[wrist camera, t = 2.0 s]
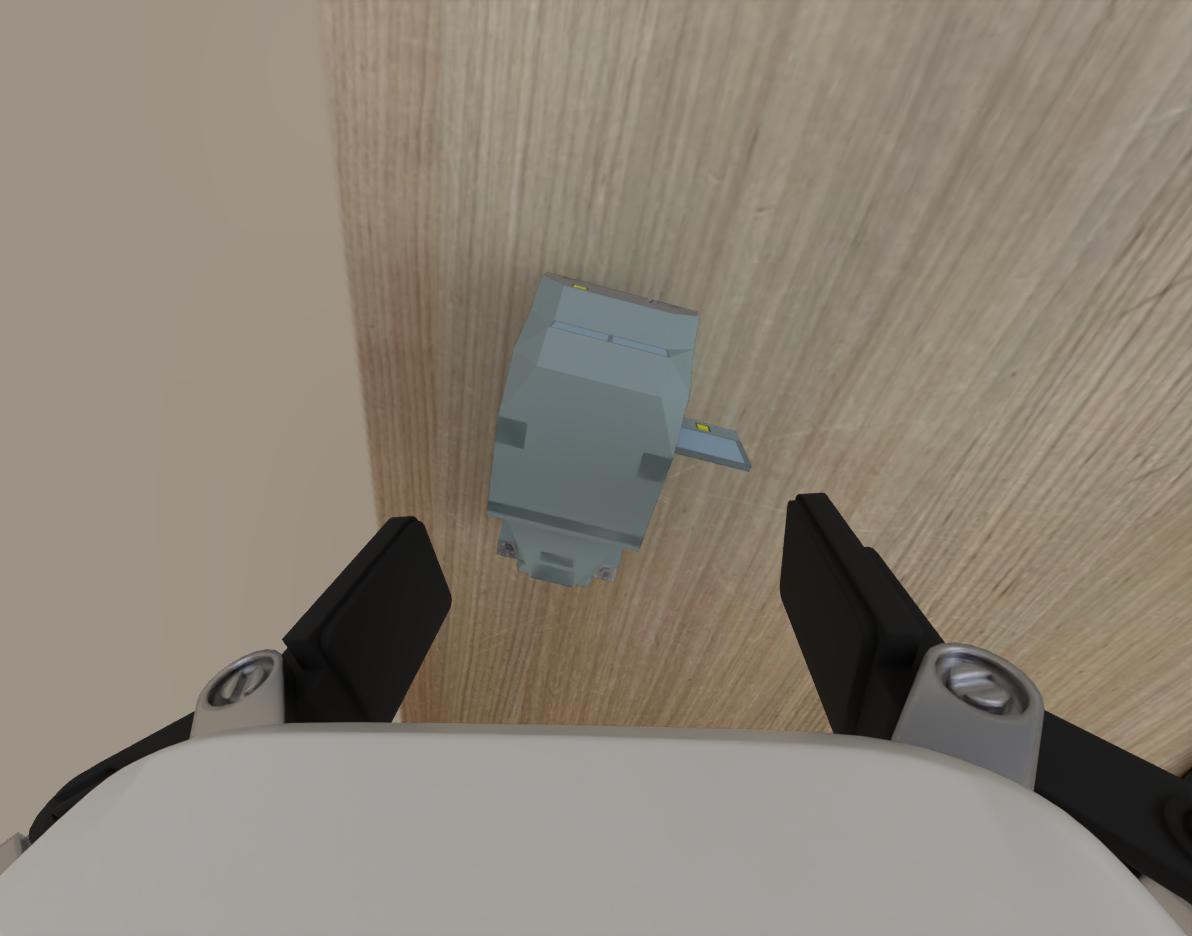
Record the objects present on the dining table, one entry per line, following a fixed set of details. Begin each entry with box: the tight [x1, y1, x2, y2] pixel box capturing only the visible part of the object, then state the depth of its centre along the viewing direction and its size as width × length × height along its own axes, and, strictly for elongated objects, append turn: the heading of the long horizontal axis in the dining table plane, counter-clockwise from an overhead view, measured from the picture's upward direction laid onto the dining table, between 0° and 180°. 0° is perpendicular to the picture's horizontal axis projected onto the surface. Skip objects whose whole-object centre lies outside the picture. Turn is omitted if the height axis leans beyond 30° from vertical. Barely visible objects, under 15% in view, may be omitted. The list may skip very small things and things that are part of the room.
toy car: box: [486, 272, 751, 588], centre depth 13 cm, size 6×10×5 cm, turn 167°
